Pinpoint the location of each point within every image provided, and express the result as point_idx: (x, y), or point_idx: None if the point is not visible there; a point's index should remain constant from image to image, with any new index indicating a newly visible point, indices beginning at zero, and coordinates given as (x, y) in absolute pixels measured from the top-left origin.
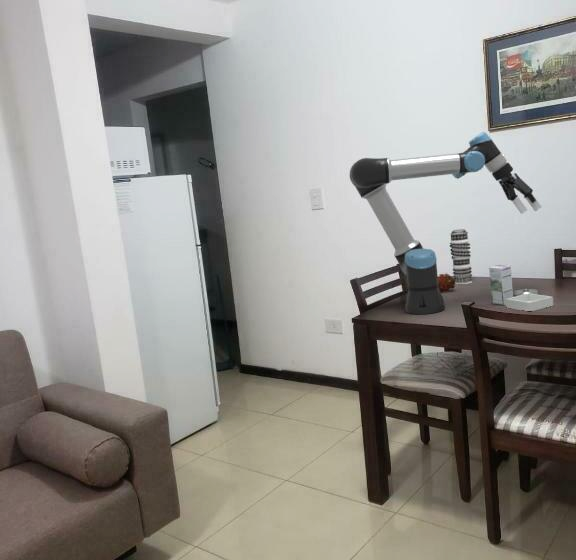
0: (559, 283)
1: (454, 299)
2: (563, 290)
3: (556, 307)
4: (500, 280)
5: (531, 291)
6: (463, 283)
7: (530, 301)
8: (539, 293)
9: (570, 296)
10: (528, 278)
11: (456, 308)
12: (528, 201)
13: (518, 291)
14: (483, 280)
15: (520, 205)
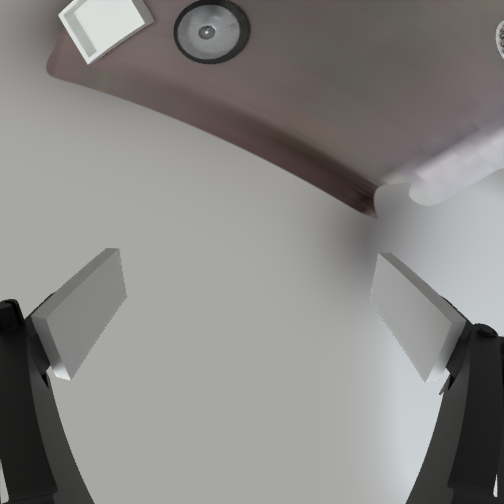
0: (322, 164)
1: None
2: (238, 129)
3: None
4: None
5: (195, 42)
6: (499, 27)
7: (134, 21)
8: (198, 60)
9: (167, 114)
10: (431, 157)
11: None
12: (61, 290)
13: (216, 14)
14: (498, 86)
15: (399, 309)
